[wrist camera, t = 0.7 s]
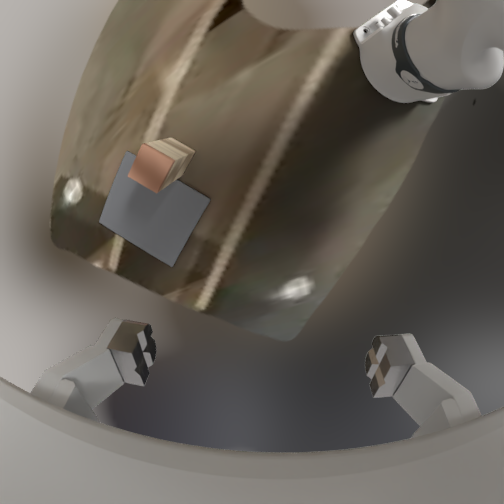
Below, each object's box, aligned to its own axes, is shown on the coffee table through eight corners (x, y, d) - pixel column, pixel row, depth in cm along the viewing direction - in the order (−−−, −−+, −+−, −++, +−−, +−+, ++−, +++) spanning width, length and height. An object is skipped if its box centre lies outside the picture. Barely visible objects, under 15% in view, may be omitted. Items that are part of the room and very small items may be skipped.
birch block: (171, 137, 43) (142, 143, 33) (195, 151, 44) (173, 161, 34) (158, 162, 45) (127, 176, 35) (181, 175, 46) (156, 193, 36)
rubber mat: (127, 150, 44) (126, 151, 44) (210, 199, 48) (210, 199, 48) (99, 221, 51) (98, 222, 50) (172, 266, 54) (172, 267, 54)
